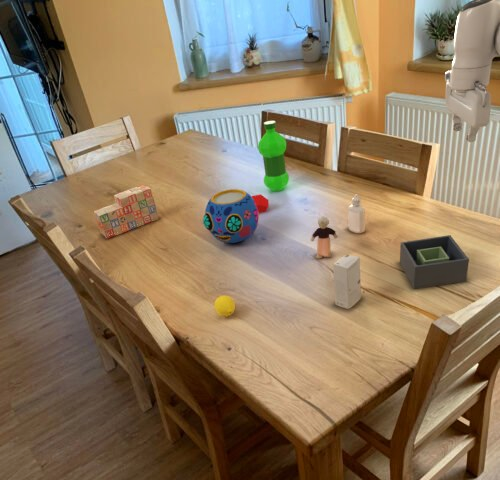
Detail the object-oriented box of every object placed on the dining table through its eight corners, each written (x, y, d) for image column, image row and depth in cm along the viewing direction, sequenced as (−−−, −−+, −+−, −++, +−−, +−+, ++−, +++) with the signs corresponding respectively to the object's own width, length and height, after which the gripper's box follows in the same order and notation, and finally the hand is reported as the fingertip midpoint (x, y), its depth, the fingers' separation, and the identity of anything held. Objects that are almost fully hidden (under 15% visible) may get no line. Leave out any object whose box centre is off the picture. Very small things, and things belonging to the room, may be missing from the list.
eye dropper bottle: (352, 235, 156) (351, 199, 149) (347, 227, 160) (346, 192, 153) (365, 232, 156) (365, 196, 149) (361, 225, 160) (360, 189, 153)
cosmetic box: (349, 310, 126) (348, 269, 118) (334, 305, 128) (332, 264, 121) (361, 297, 129) (361, 257, 122) (347, 293, 132) (345, 253, 124)
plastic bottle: (292, 182, 197) (285, 116, 182) (287, 193, 189) (280, 125, 174) (267, 183, 200) (259, 119, 184) (262, 194, 192) (253, 128, 176)
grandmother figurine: (314, 261, 147) (311, 222, 139) (311, 255, 150) (308, 216, 142) (339, 255, 147) (338, 216, 140) (336, 250, 150) (334, 211, 143)
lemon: (212, 311, 134) (208, 295, 131) (230, 304, 136) (227, 288, 132) (222, 324, 129) (218, 307, 126) (241, 316, 130) (238, 300, 127)
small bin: (439, 262, 135) (441, 246, 132) (447, 274, 130) (449, 258, 127) (415, 266, 136) (416, 249, 133) (423, 278, 131) (424, 261, 128)
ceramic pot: (200, 249, 164) (190, 207, 155) (225, 224, 176) (217, 184, 167) (248, 254, 157) (240, 210, 147) (270, 228, 168) (264, 185, 159)
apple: (272, 192, 179) (250, 186, 178) (270, 203, 174) (247, 198, 174) (268, 207, 184) (247, 202, 184) (265, 218, 180) (244, 213, 179)
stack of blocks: (107, 239, 181) (95, 208, 173) (101, 234, 185) (90, 203, 178) (159, 218, 189) (150, 187, 181) (152, 214, 193) (143, 183, 185)
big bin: (447, 256, 138) (450, 234, 134) (466, 281, 128) (469, 259, 124) (399, 263, 139) (400, 242, 135) (413, 289, 129) (415, 267, 125)
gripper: (501, 84, 112) (492, 146, 121) (467, 67, 129) (461, 122, 137) (473, 89, 113) (466, 150, 121) (442, 72, 129) (438, 126, 137)
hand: (463, 135), depth 129 cm, fingers open, 8 cm apart
